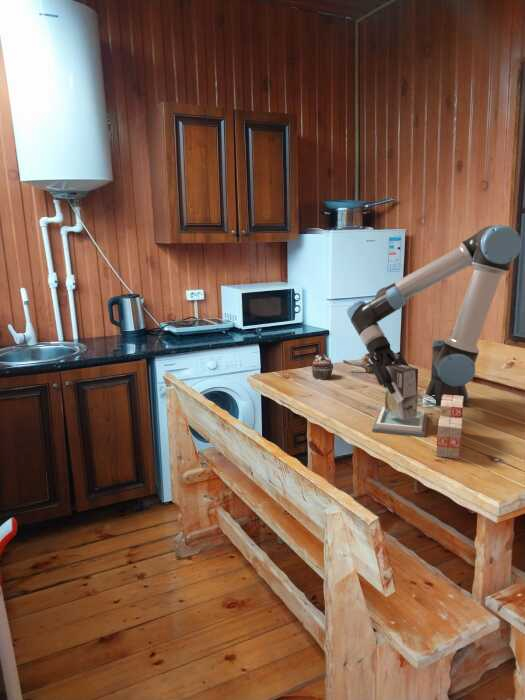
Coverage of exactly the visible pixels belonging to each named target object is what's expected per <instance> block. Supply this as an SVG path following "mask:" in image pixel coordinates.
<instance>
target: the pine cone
mask: <svg viewBox="0 0 525 700" xmlns="http://www.w3.org/2000/svg"><path fill="white" fill-rule="evenodd" d="M370 357H371V355H370V354H369V353H365V354H364V356H363V357H361V363H356V362H351V361H348V360H346V359H342V362H343V364H345V365H349V366H353V367H360V368H363V369H364V370H365V372H366V373H367V372H368V373H370V372H371V373H374V372H373V369H372V367H371V366H370V364H369V363H368V362H367V361H368V360H369V358H370ZM387 366H389V365H387Z"/></svg>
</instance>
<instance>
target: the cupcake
mask: <svg viewBox="0 0 525 700" xmlns="http://www.w3.org/2000/svg"><path fill="white" fill-rule="evenodd" d="M310 369H311V373H312V378H313V377H314V378H315V380H319V379H320V380H321V381H324V380H325V381H326V380H329V379H332V374H333V370H334V365H333V363H332V360H331V358H330V357H329V356H328V354H326V353H325V354H317V355H315V359H314V360H313V362H312V365H311V367H310ZM314 378H313V379H314ZM320 380H319V381H320Z"/></svg>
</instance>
